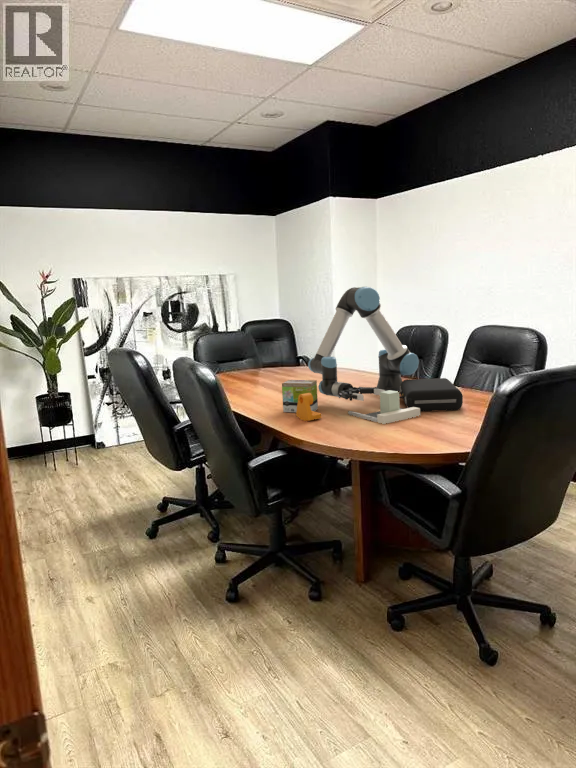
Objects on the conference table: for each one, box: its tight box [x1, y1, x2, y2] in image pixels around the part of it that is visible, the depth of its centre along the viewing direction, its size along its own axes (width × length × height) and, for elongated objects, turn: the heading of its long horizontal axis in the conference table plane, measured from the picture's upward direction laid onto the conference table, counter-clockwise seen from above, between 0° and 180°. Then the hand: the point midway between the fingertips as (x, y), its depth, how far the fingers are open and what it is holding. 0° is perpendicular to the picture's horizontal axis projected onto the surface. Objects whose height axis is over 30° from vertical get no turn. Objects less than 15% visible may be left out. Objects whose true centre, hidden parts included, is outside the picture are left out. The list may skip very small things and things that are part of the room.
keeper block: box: [379, 390, 401, 414], centre depth 241 cm, size 6×6×11 cm
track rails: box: [347, 407, 403, 423], centre depth 247 cm, size 21×21×2 cm
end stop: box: [376, 407, 421, 425], centre depth 237 cm, size 21×4×4 cm, turn 121°
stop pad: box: [365, 411, 380, 418], centre depth 245 cm, size 16×15×1 cm
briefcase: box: [399, 377, 464, 412], centre depth 264 cm, size 36×32×10 cm
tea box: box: [281, 379, 319, 413], centre depth 264 cm, size 15×10×15 cm
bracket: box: [295, 393, 322, 422], centre depth 247 cm, size 11×7×12 cm, turn 29°
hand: (373, 395), depth 248 cm, fingers open, 13 cm apart
